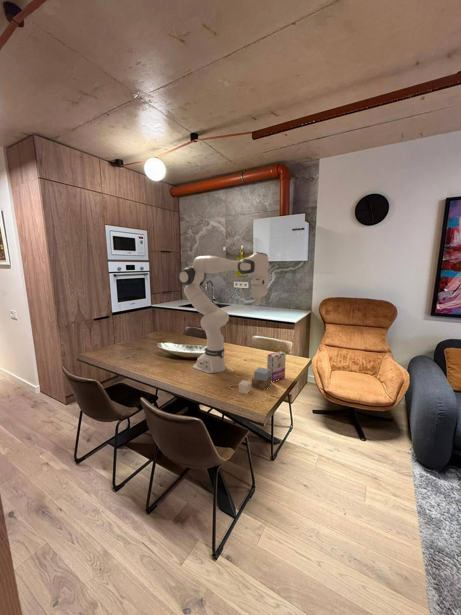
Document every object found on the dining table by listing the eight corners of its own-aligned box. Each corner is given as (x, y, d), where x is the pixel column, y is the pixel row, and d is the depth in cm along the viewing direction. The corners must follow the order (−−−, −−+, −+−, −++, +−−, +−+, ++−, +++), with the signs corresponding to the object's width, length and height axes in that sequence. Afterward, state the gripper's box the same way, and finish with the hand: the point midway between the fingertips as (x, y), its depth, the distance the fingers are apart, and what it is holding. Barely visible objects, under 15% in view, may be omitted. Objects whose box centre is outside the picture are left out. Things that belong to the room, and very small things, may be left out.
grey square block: (254, 378, 148) (254, 371, 147) (258, 374, 154) (258, 367, 153) (265, 381, 145) (266, 373, 144) (269, 376, 151) (269, 369, 150)
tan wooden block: (251, 387, 148) (251, 379, 147) (257, 381, 156) (257, 373, 155) (266, 390, 144) (266, 382, 143) (271, 384, 152) (271, 376, 151)
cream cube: (238, 392, 142) (238, 383, 141) (242, 388, 146) (242, 380, 145) (247, 394, 140) (247, 385, 139) (250, 390, 144) (250, 382, 143)
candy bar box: (279, 375, 164) (280, 350, 161) (285, 378, 160) (286, 352, 157) (266, 379, 157) (267, 354, 154) (272, 382, 153) (273, 356, 150)
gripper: (260, 279, 160) (259, 301, 162) (249, 281, 141) (249, 306, 144) (270, 280, 158) (269, 302, 160) (260, 282, 139) (260, 307, 141)
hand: (259, 304), depth 152 cm, fingers open, 8 cm apart
